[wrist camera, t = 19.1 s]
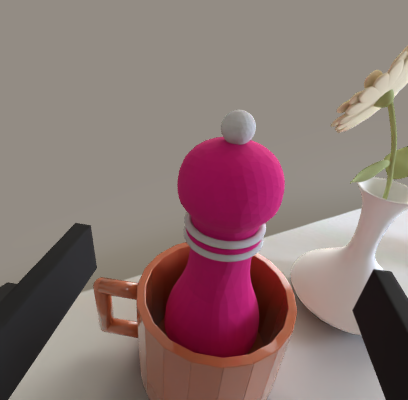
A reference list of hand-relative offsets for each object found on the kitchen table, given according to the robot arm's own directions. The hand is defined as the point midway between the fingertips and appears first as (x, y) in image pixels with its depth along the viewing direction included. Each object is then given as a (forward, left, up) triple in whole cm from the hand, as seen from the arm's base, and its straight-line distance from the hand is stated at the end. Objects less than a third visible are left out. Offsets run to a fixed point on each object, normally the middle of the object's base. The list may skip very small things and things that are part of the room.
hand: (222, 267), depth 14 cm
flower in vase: (-13, -13, -15) cm, 24 cm away
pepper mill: (0, -4, -14) cm, 14 cm away
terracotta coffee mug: (+2, -4, -15) cm, 15 cm away
